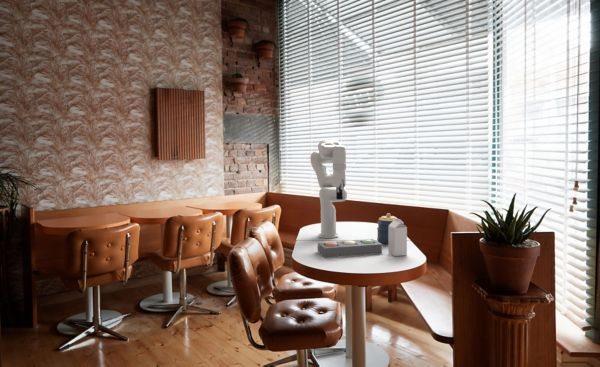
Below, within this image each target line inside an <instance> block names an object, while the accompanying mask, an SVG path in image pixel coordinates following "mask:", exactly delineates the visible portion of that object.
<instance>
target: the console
mask: <svg viewBox="0 0 600 367" xmlns="http://www.w3.org/2000/svg"><path fill="white" fill-rule="evenodd" d="M370 239H371V240H373V243H372V244H363V243H362V240H363V239H354V240H349V241H355V245H344V241H345V240H339V241H336V240H335V242H336V243H337V246H330V247H326V246H325V243H326V242H327V241H325V242H323V241H322V242H317V252H318V254H320V255H321V256H322V257H323V258H324V259H325V258H327V259H328V258H337V257H338V258H339V257H340V256H341V257H352V256H364V255H365V254H367V255H376V254H378V255H379V254H380V255H381V254H383V244H381V243H379V242H378V241H377V240H375V239H373V238H370ZM365 256H366V255H365Z"/></svg>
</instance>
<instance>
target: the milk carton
mask: <svg viewBox="0 0 600 367" xmlns="http://www.w3.org/2000/svg"><path fill="white" fill-rule="evenodd" d="M407 239H408V227H407V226H406V225H405V224H404V221H402V219H399V218H397V217H396V218H394V221H393V222H392V223H391V224H390V225H389V228H388V245H387V246H388V251H387V252H388V254H390V255H391V256H393V257H400V256H407V252H408V251H407V249H408V240H407Z"/></svg>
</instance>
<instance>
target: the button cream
mask: <svg viewBox="0 0 600 367" xmlns="http://www.w3.org/2000/svg"><path fill="white" fill-rule="evenodd" d="M343 241H344V245H355V241H350V240H343Z"/></svg>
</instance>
